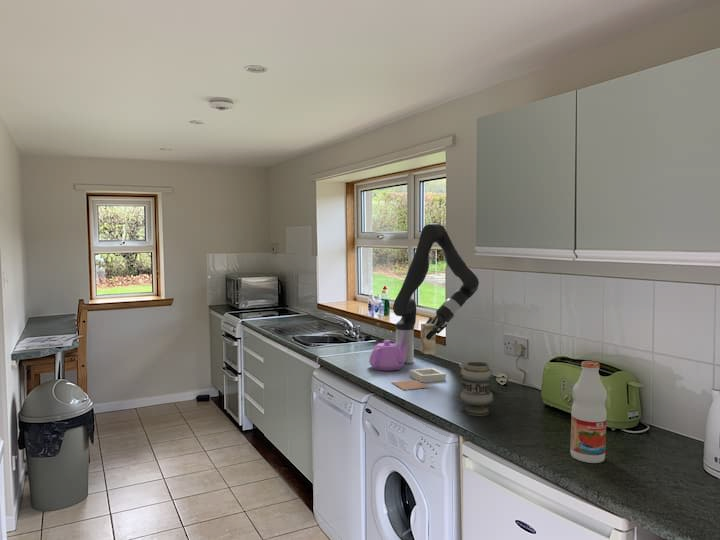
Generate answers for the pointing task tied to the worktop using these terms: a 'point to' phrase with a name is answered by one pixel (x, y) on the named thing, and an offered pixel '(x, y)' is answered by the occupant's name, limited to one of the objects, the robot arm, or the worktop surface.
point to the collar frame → (428, 375)
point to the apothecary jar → (476, 388)
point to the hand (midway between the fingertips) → (424, 337)
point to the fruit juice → (589, 416)
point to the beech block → (426, 344)
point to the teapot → (388, 356)
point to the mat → (410, 385)
